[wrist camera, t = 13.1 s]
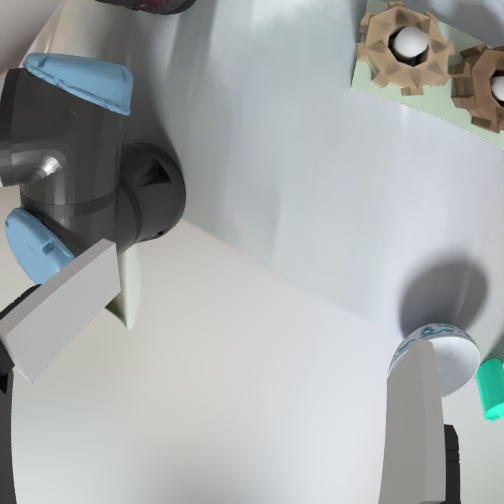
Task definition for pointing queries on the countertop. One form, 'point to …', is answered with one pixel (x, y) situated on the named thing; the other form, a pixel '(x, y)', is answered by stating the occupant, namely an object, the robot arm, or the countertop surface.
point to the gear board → (435, 97)
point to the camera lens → (153, 5)
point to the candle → (491, 388)
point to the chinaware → (445, 354)
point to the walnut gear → (479, 86)
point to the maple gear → (384, 63)
